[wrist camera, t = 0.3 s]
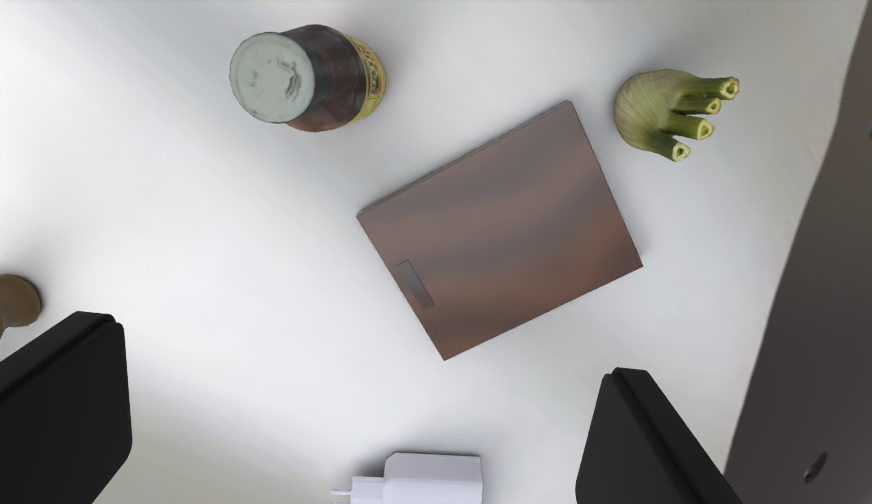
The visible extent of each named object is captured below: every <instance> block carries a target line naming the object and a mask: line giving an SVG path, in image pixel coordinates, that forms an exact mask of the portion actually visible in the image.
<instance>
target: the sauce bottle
mask: <svg viewBox="0 0 872 504" xmlns="http://www.w3.org/2000/svg"><path fill="white" fill-rule="evenodd" d="M229 78H230V81H231V87H232V90H233V93H234V95H235V97H236V99H237V101H238V102H239V104H240V105H241V106H242V107H243V108H244V109H245V110H246V111H247V112H249V113H250V114H251V115H252V116H253V117H255V118H257V119H259V120H261V121H264V122H268V123H279V124H280V123H286V124H288V125H289V126H291V127H293V128H295V129H299V130H303V131H308V132H320V131H327V130H333V129H337V128H340V127H342V126H345V125H347V124H350V123H352V122H355V121H358V120H360V119H363V118H365V117H366V116H368V115H369V114H371V113H372V112H373V111H374V110H375V109H376V108H377V107H378V105H379V104H380V102H381V100H382V97H383V94H384V91H385V74H384V70H383V67H382V64H381V62H380V60H379V59H378V57H377V56H376V54H375V53H374V52H373V51H372V50H371V49H370V48H369V47H368V46H367V45H365V44H363V43H362V42H360V41H358V40H356V39H353V38H351V37H349V36H347V35H345V34H343V33H341V32H339V31H337V30H335V29H333V28H330V27H327V26H324V25H317V24H314V25H306V26H303V27H299V28H296V29H292V30H289V31H286V32H282V33H276V32H264V33H260V34H256V35H253V36H251V37H250V38H248V39H246V40H244V41H243V42H242V43H241V44H240V46H239V47H238V48H237V49H236V51H235V52H234V55H233V57H232V60H231V64H230V75H229Z"/></svg>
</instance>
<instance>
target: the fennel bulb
mask: <svg viewBox="0 0 872 504" xmlns="http://www.w3.org/2000/svg"><path fill="white" fill-rule="evenodd" d="M738 92H739V80H738V79H736V78H734V77H727V78H715V79H712V78H699V77H696V76H694V75H692V74H690V73H687V72H685V71H679V70H673V69H663V70H658V71H654V72H648V73H641V74H638V75H636V76H634V77H632V78H630V79H629V80H628V81H627V82H626V83H625V84H624V85H623V86H622V87H621V89H620V90H619V92H618V94H617V96H616V98H615V101H614V119H615V123H616V126H617V129H618V132H619V133H620V135H621V136H622V138H623V139H624V140H625V142H627V143H628V144H629V145H631V146H632V147H635V148H637V149H641V150H645V151H651V152H654V153H657V154H660V155H662V156H664V157H666V158H668V159H670V160H672V161H674V162H677V161H680V160H681V159H683V158H686V157H687V156H688V155H689V153H690V148H689V147H687V146H686V145H684V144H682V143H680V142H679V141H677V140H675V139H674V138H672V137H673V136H674V135H678V136H684V137H687V138H691V139H696V140H702V139H705V138H707V137H709V136H710V135H711V134H712V132H713V130H714V126H713V125H711V123H709V122H707V120H706V119H705V118H699V117H692V116H687V115H696V114H706V115H709V114H717V113H718V112H719V111H720V108H721V101H720V100H733V99H734V97H735V95H736V94H737V93H738Z"/></svg>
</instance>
